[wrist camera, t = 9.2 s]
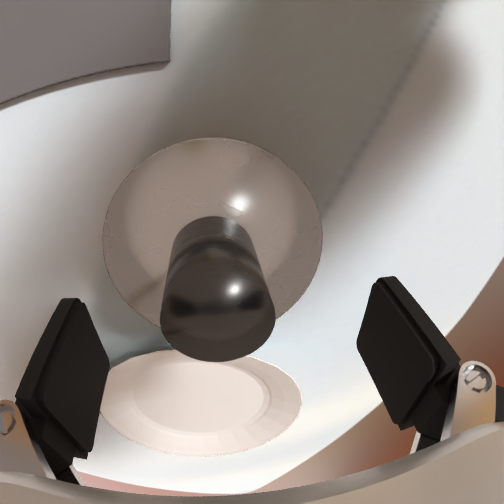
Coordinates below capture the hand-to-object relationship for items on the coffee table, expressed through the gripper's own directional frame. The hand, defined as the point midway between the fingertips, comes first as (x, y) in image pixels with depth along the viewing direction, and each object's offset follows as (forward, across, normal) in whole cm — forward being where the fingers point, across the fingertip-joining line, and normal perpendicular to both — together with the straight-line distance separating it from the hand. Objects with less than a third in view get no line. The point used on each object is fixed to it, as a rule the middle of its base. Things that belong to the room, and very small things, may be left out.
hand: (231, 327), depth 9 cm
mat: (+11, +10, -15) cm, 21 cm away
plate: (+11, +4, +21) cm, 24 cm away
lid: (+7, 0, +1) cm, 7 cm away
